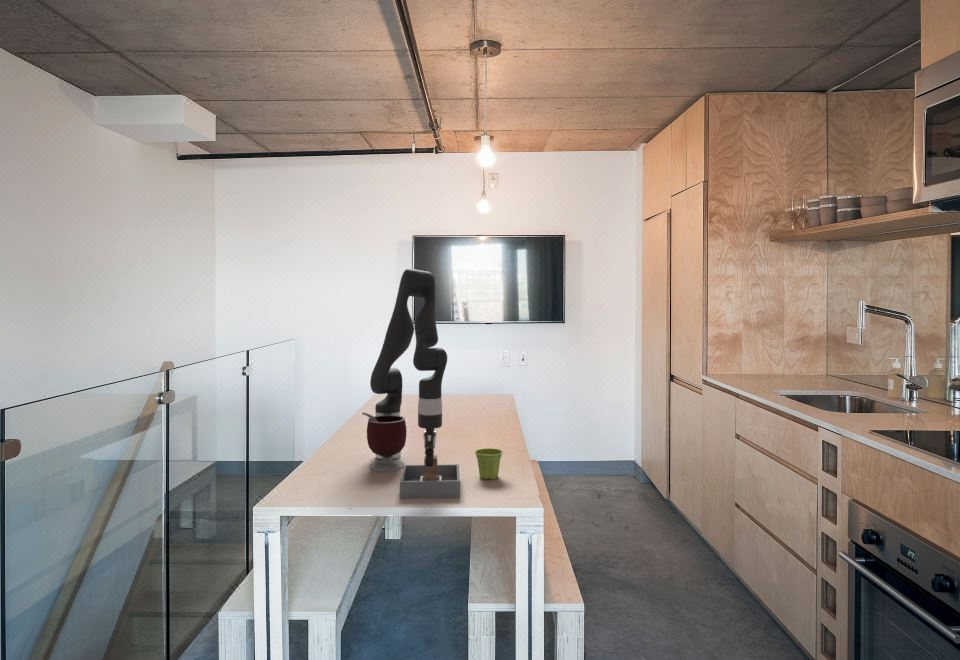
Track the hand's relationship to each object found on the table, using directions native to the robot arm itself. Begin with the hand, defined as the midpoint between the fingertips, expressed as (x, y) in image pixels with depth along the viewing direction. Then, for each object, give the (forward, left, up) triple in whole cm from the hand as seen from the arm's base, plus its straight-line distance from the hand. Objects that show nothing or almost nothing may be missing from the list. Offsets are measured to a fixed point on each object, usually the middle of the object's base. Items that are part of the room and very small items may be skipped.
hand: (429, 462), depth 195 cm
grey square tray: (0, 0, -8) cm, 8 cm away
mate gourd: (-25, -17, -9) cm, 31 cm away
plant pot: (-11, +19, -9) cm, 24 cm away
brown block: (0, 0, -7) cm, 7 cm away
